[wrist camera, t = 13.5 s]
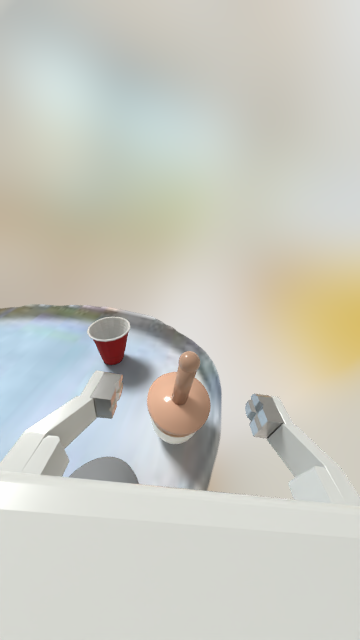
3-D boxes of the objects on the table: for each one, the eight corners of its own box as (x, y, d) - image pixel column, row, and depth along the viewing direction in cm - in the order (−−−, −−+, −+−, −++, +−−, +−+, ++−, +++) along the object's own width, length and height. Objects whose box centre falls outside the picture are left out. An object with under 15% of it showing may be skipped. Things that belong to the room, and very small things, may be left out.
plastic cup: (90, 351, 51) (84, 319, 45) (125, 343, 56) (124, 313, 50) (95, 377, 43) (88, 343, 37) (135, 365, 49) (135, 333, 43)
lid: (153, 445, 25) (161, 399, 18) (143, 379, 34) (146, 332, 27) (220, 424, 29) (247, 380, 22) (195, 370, 38) (208, 328, 31)
